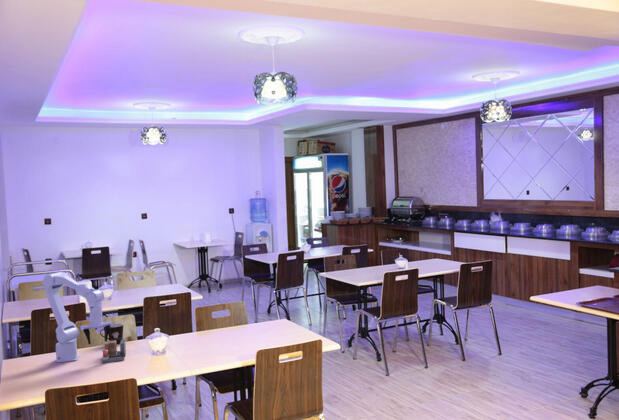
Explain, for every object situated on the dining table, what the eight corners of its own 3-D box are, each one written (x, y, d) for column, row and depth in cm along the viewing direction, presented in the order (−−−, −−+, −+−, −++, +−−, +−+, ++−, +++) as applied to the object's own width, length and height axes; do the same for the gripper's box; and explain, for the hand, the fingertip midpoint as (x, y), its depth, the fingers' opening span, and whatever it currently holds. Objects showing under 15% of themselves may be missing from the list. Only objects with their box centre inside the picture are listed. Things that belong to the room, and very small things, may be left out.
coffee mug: (127, 341, 315) (126, 323, 314) (120, 345, 306) (119, 327, 306) (107, 341, 316) (105, 323, 315) (99, 345, 307) (98, 327, 307)
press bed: (102, 362, 275) (101, 348, 275) (105, 354, 289) (104, 341, 289) (124, 360, 278) (123, 346, 278) (126, 352, 291) (125, 339, 291)
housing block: (105, 355, 283) (104, 343, 283) (106, 353, 288) (105, 341, 287) (116, 354, 284) (115, 342, 284) (116, 351, 289) (116, 340, 289)
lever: (102, 359, 275) (101, 351, 275) (102, 358, 278) (102, 349, 278) (108, 359, 276) (108, 350, 276) (109, 357, 278) (108, 349, 278)
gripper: (81, 318, 270) (83, 347, 271) (113, 314, 277) (114, 341, 278) (79, 316, 276) (80, 343, 277) (110, 311, 283) (111, 338, 284)
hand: (97, 342), depth 278 cm, fingers open, 7 cm apart
